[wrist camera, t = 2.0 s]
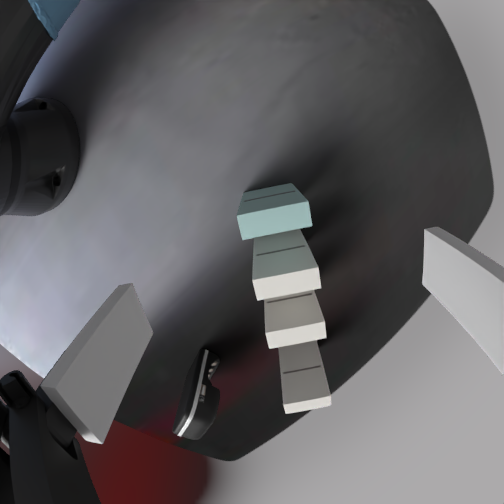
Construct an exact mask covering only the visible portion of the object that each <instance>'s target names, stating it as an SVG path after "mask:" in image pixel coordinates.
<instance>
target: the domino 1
mask: <svg viewBox="0 0 504 504" xmlns="http://www.w3.org/2000/svg"><path fill="white" fill-rule="evenodd" d="M237 219H238V223H239V228H240V232H241V236H242V240H245V239H250V238H255V237H260V236H265V235H270V234H275V233H280V232H285V231H290V230H295V229H300V228H305V227H310V226H312V220H311V214H310V208H309V202H308V200H307V199H306V198H305V197H304V196H303V195H302V194H301V193H300V192H299V191H298V189H297V188H296V187H295V186H294V185H293V184H292V183H289V184H283V185H278V186H273V187H268V188H263V189H259V190H254V191H249V192H244V193H243V196H242V199H241V203H240V206H239V209H238V213H237Z"/></svg>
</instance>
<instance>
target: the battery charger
mask: <svg viewBox="0 0 504 504" xmlns="http://www.w3.org/2000/svg"><path fill="white" fill-rule="evenodd" d="M219 362H220V359H219V357H218V356H217V355H215V354H214V353H212V352H209V351H208V350H204V349H200V351H199V353H198V355H197V357H196V358H195V360H194V362H193V364H192V366H191V368H190V370H189V372H188V374H187V377H186V381H185V384H184V388H183V392H182V395H181V399H180V402H179V406H178V410H177V414H176V417H175V421H174V425H173V433H175V434H177V435H178V436H183V437H186V438H189V439H193V440H198V439H200V438H201V437H202V436H203V435H204V434H205V432H206V431H207V430H208V429H209V427H210V426H211V425H212V423H213V422H214V420H215V418H216V414H217V410H218V405H219V399H220V391H219V389H217V388H216V387H213V386H212V384H211V382H210V378H211V377H212V375H213V373H214V372H215V370H216V368H217V367H218V365H219Z"/></svg>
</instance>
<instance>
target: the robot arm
mask: <svg viewBox="0 0 504 504" xmlns="http://www.w3.org/2000/svg"><path fill="white" fill-rule="evenodd" d="M79 2H80V0H0V216H1V215H19V216H36V215H40V214H42V213H45V212H47V211H50V210H52V209H54V208H55V207H57V206H58V205H59V204H60V203H61V202H62V201H63V200H64V199H65V197H66V196H67V194H68V193H69V191H70V189H71V187H72V185H73V182H74V180H75V177H76V173H77V169H78V163H79V153H80V145H79V135H78V130H77V126H76V123H75V121H74V118H73V116H72V114H71V113H70V111H69V110H68V109H67V107H66V106H65V105H63V104H62V103H61V102H59V101H57V100H54V99H49V98H32V99H28V100H26V101H23V102H21V103H18V104H16V103H17V101H18V99H19V97H20V94H21V92H22V90H23V88H24V87H25V85H26V83H27V81H28V79H29V77H30V75H31V74H32V72H33V70H34V68H35V67H36V65H37V63H38V62H39V60H40V59H41V57H42V55H43V54H44V52H45V51H46V49H47V48H48V46H49V45H50V43H51V42H52V40H54V41H55V40H56V38H57V37H58V32H59V31H60V29H61V28H62V26H63V25H64V23H65V22H66V20H67V19H68V18H69V16H70V15H71V13H72V12H73V11H74V9H75V8H76V7H77V5H78V4H79ZM422 284H423V285H424V286H425V287H426V288H427V289H428V290H429V291H430V292H431V294H432V295H434V297H435V298H436V299H437V300H438V301H440V303H441V304H442V305H443V306H444V307H445V308H446V309H447V310H448V311H449V312H450V313H451V314H452V316H453V317H454V318H455V319H456V320H457V321H458V322H459V323H460V324H461V325H462V327H463V328H464V329H465V330H466V331H467V332H468V333H469V334H470V335H471V337H472V338H473V339H474V340H475V341H476V343H477V344H478V345H479V346H480V347H481V348H482V350H483V351H484V352H485V353H486V354H487V356H488V357H489V358H490V359H491V361H492V362H493V363H494V364H495V366H496V367H497V368H498V369H499V371H500V372H501V373H502V375H504V268H503V267H502V266H501V265H499V264H498V263H496V262H495V261H493V260H492V259H490V258H489V257H487V256H485V255H484V254H482V253H481V252H479V251H478V250H476V249H475V248H473V247H471V246H470V245H468V244H467V243H465V242H463V241H462V240H460V239H458V238H457V237H455V236H453V235H451V234H450V233H448V232H446V231H445V230H443V229H441V228H439V227H433V228H428V229H424V266H423V281H422ZM152 335H153V331H152V329H151V327H150V324H149V322H148V320H147V317H146V315H145V313H144V310H143V308H142V306H141V303H140V301H139V298H138V296H137V293H136V291H135V288H134V286H133V283H131V284H125V285H119V286H118V287H117V288H116V289H115V291H114V292H113V293H112V294H111V295H110V296H109V298H108V299H107V300H106V301H105V302H104V303H103V305H102V306H101V307H100V308H99V309H98V311H97V312H96V313H95V314H94V315H93V317H92V318H91V319H90V320H89V322H88V323H87V324H86V325H85V326H84V328H83V329H82V330H81V331H80V333H79V334H78V335H77V337H76V338H75V339H74V340H73V342H72V343H71V344H70V346H69V347H68V348H67V349H66V350H65V351H64V353H63V354H62V355H61V357H60V358H59V359H58V361H57V362H56V363H55V365H54V366H53V368H52V369H51V370H50V371H49V373H48V374H47V376H46V377H45V378H44V380H43V381H42V383H41V384H40V386H39V387H38V388H37V390H36V391H35V390H34V389H33V388H32V387H31V385H30V383H29V382H28V381H27V379H26V378H25V377H24V375H23V374H22V372H20V371H18V370H16V371H12V372H9V373H8V374H6V375H5V376H4V377H2V378H1V380H0V396H1V397H2V399H3V400H4V401H5V403H6V404H7V405H5V404H4V403H3V402H2V400H1V399H0V440H1V441H2V442H3V443H4V444H5V445H6V446H7V447H8V448H9V450H10V455H8V454H7V453H6V452H5V451H4V450H3V449H2V448H1V447H0V504H101V502H100V500H99V498H98V495H97V493H96V490H95V488H94V486H93V483H92V480H91V478H90V475H89V472H88V469H87V466H86V463H85V460H84V457H83V454H82V451H81V448H80V444H79V442H78V441H77V439H76V438H75V437H74V435H75V433H76V431H78V432H79V433H80V434H81V435H82V437H83V438H84V439H85V440H87V441H90V442H95V443H100V444H103V442H104V440H105V437H106V435H107V432H108V430H109V428H110V426H111V423H112V421H113V419H114V416H115V414H116V412H117V409H118V407H119V405H120V403H121V400H122V398H123V396H124V394H125V392H126V389H127V387H128V385H129V383H130V381H131V378H132V376H133V374H134V372H135V370H136V368H137V366H138V364H139V361H140V359H141V357H142V355H143V353H144V351H145V349H146V347H147V345H148V343H149V341H150V339H151V337H152Z"/></svg>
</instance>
